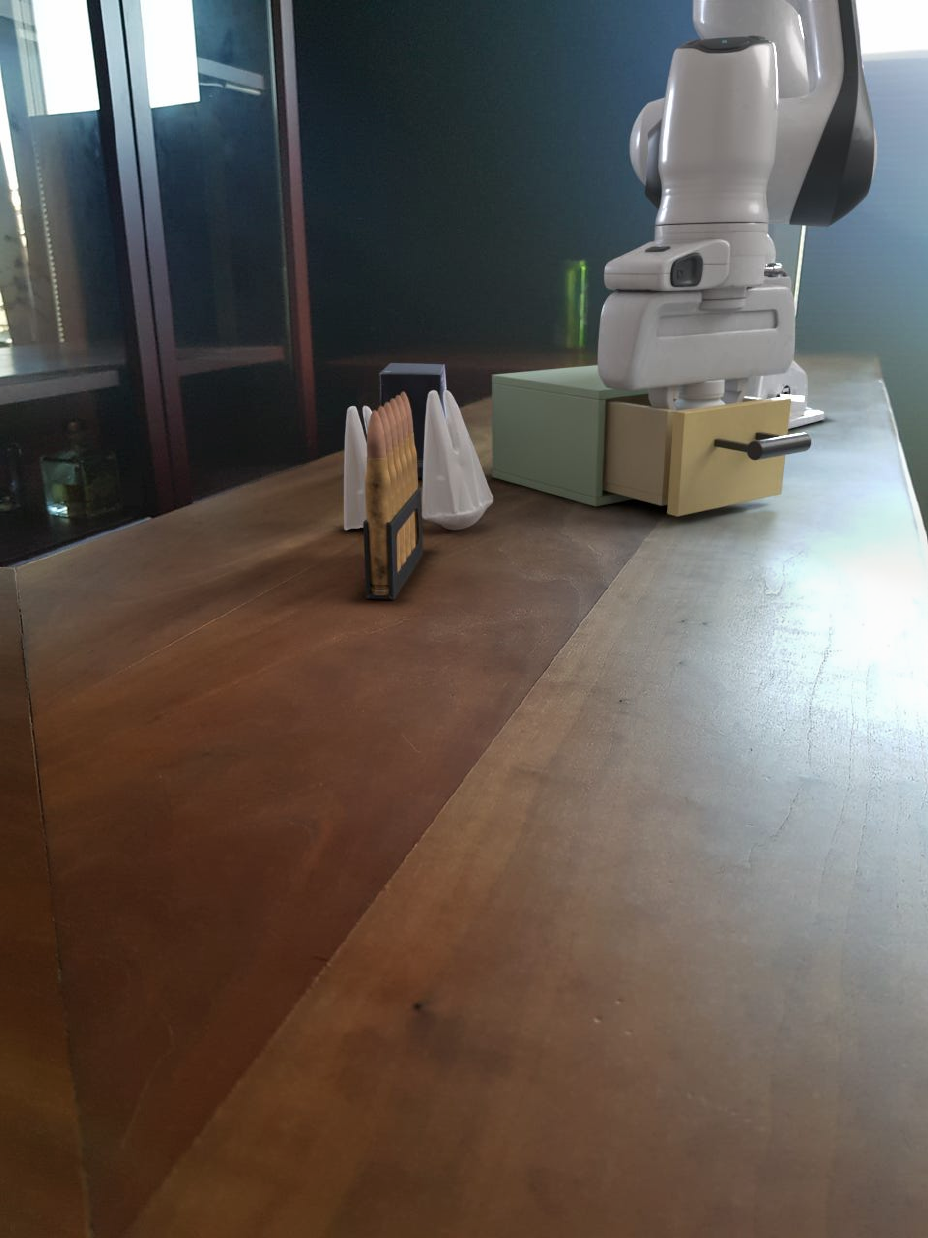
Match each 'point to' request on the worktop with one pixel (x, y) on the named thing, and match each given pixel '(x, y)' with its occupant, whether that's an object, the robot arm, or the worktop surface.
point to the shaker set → (425, 468)
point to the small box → (413, 394)
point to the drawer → (697, 452)
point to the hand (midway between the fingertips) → (695, 435)
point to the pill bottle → (700, 395)
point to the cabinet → (553, 431)
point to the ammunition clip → (391, 501)
